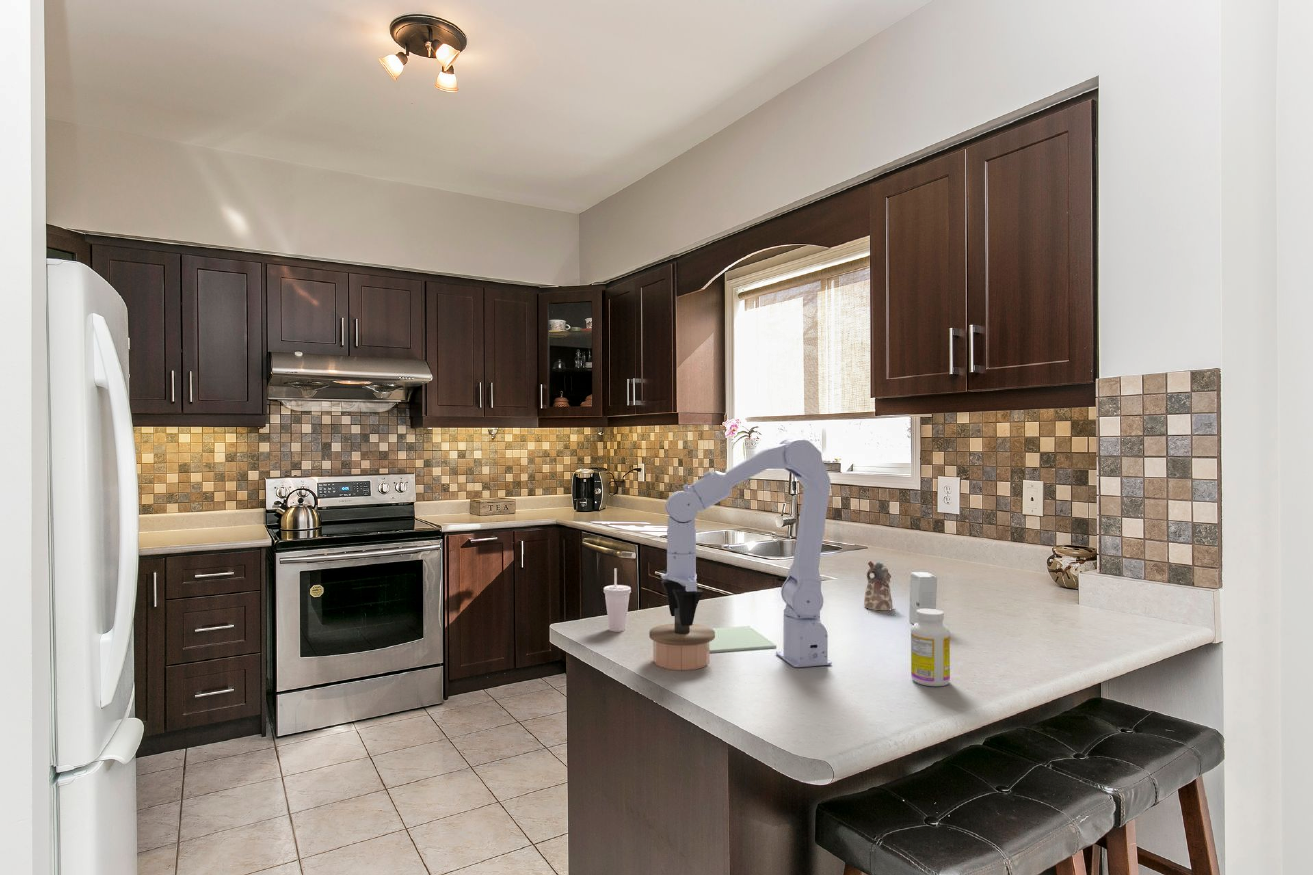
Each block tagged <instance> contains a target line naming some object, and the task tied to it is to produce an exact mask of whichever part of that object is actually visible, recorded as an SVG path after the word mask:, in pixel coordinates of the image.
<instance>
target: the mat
mask: <svg viewBox="0 0 1313 875" xmlns="http://www.w3.org/2000/svg"><path fill="white" fill-rule="evenodd" d="M711 629H713V630H714V631H715V638H714V639H713V640H712V641H710V642H709V654H710V653H724V652H739V651H750V650H763V649H764V650H765V649H766V650H767V649H777V644H775V643H774V642H772V641H771V640H770V639H768V638H767V637H765V636H764V635H762V634H761V633H759V632H758V631H757V630H755V629H754V628H753V627H751V626H749V625H747V626H746V625H745V626H732V627H731V626H730V627H716V628H715V627H714V628H712V627H711Z"/></svg>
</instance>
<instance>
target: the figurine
mask: <svg viewBox="0 0 1313 875" xmlns="http://www.w3.org/2000/svg"><path fill="white" fill-rule="evenodd" d="M867 565H868V567H869V569H868V570H867V572H866V578H867V584H866V588H865V593H864V598H863V601H864V603H863V606H864V608H865V607H866V608H865V609H867V608H869V609H873V610H872V611H874V610H890V609H892V608H893V609H894V607H893V606H894V605H893V598H892V594H891V588H890V583H891V577H892V575H891V574H890V573H889V570H888V569H889V568H887V565H885V564H884V563H883V562H881V561H878V562H876V563H875V564H874V563H873V562H872V560H869V561H868V562H867ZM871 574H873V575H874V576H873V577H871V576H870V575H871ZM869 609H868V610H869ZM890 611H891V610H890Z"/></svg>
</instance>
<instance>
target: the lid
mask: <svg viewBox="0 0 1313 875" xmlns="http://www.w3.org/2000/svg"><path fill="white" fill-rule="evenodd" d="M648 635H649V636H648V637H649V638H650V639H651V640H652V642H653V641H656V642H659V643H662V644H668V645H680V646H687V645H699V644H704V643H708V642H710V641H712V640H713V639H714V638H715V631H714V630H713V629H712V627H708V626H705V625H701V624H694V623H693V624H692V625H691V626H682V625H681V623H680V617H679V609H678V608H675V616H674V623H668V624H662V625H658V626H655V627H653V628H651V629H650V630H649V633H648Z"/></svg>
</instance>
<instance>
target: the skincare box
mask: <svg viewBox="0 0 1313 875" xmlns="http://www.w3.org/2000/svg"><path fill="white" fill-rule="evenodd" d="M909 584H910V585H909V611H908V613H909V614H908V616H909V618H908V621H909V623H911V624H912V623H913V624H915V623H917V622H918V619H917V617H916V611H917V610H918V609H936V610H937V594H938V593H937V590H938V577H937V576H936V575H934V574H932V573H930V572H926V571H914V572H910V583H909ZM913 624H912V625H913Z"/></svg>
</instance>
